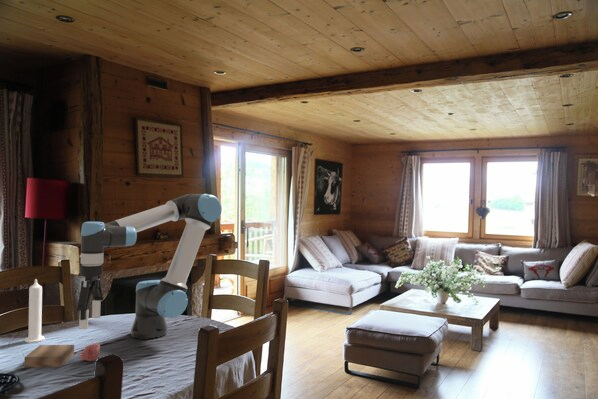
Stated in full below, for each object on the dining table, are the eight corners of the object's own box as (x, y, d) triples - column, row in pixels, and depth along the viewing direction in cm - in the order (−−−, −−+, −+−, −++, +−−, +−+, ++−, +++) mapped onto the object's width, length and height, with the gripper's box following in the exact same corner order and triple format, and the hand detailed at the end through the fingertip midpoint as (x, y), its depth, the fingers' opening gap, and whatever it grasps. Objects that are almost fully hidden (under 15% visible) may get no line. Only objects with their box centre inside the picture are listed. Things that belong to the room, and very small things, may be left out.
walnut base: (73, 355, 168) (74, 344, 168) (61, 367, 156) (61, 356, 156) (39, 355, 166) (40, 345, 166) (24, 368, 154) (24, 357, 154)
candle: (48, 338, 184) (49, 278, 184) (33, 343, 177) (34, 281, 177) (36, 336, 186) (37, 276, 186) (20, 341, 180) (21, 279, 179)
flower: (104, 346, 160) (96, 335, 163) (82, 359, 156) (74, 348, 158) (106, 356, 166) (98, 346, 168) (85, 370, 161) (77, 359, 163)
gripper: (92, 259, 173) (90, 313, 173) (67, 270, 148) (65, 333, 149) (112, 259, 174) (110, 313, 174) (91, 270, 149) (89, 333, 150)
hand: (90, 323), depth 161 cm, fingers open, 13 cm apart
